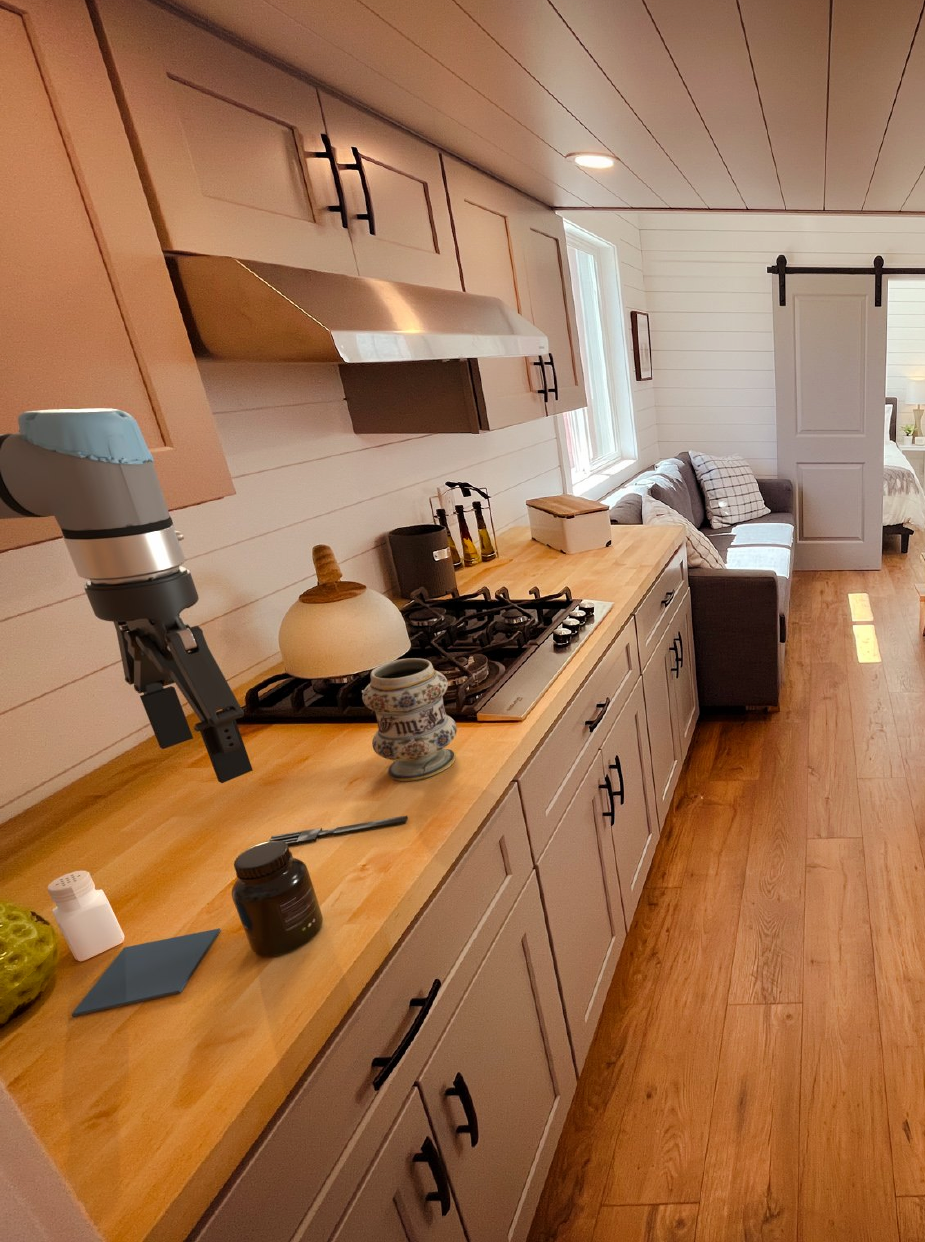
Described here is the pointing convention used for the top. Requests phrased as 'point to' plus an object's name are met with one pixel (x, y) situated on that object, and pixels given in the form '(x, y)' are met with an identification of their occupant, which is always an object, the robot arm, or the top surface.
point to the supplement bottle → (275, 899)
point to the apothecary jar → (411, 718)
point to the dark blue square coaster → (148, 972)
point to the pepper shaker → (84, 915)
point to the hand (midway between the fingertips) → (205, 759)
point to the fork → (335, 831)
